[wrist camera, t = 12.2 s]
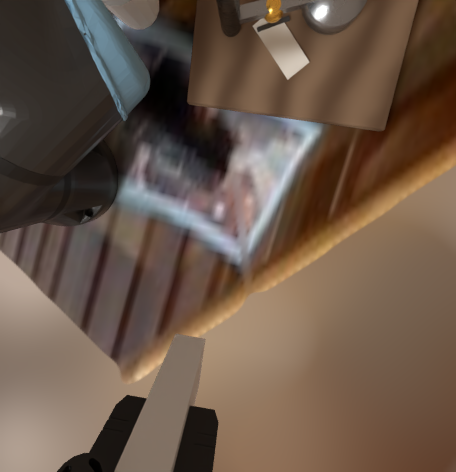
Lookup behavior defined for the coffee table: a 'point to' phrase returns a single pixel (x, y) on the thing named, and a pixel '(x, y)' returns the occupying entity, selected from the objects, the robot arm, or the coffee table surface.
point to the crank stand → (302, 65)
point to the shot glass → (134, 11)
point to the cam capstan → (276, 3)
